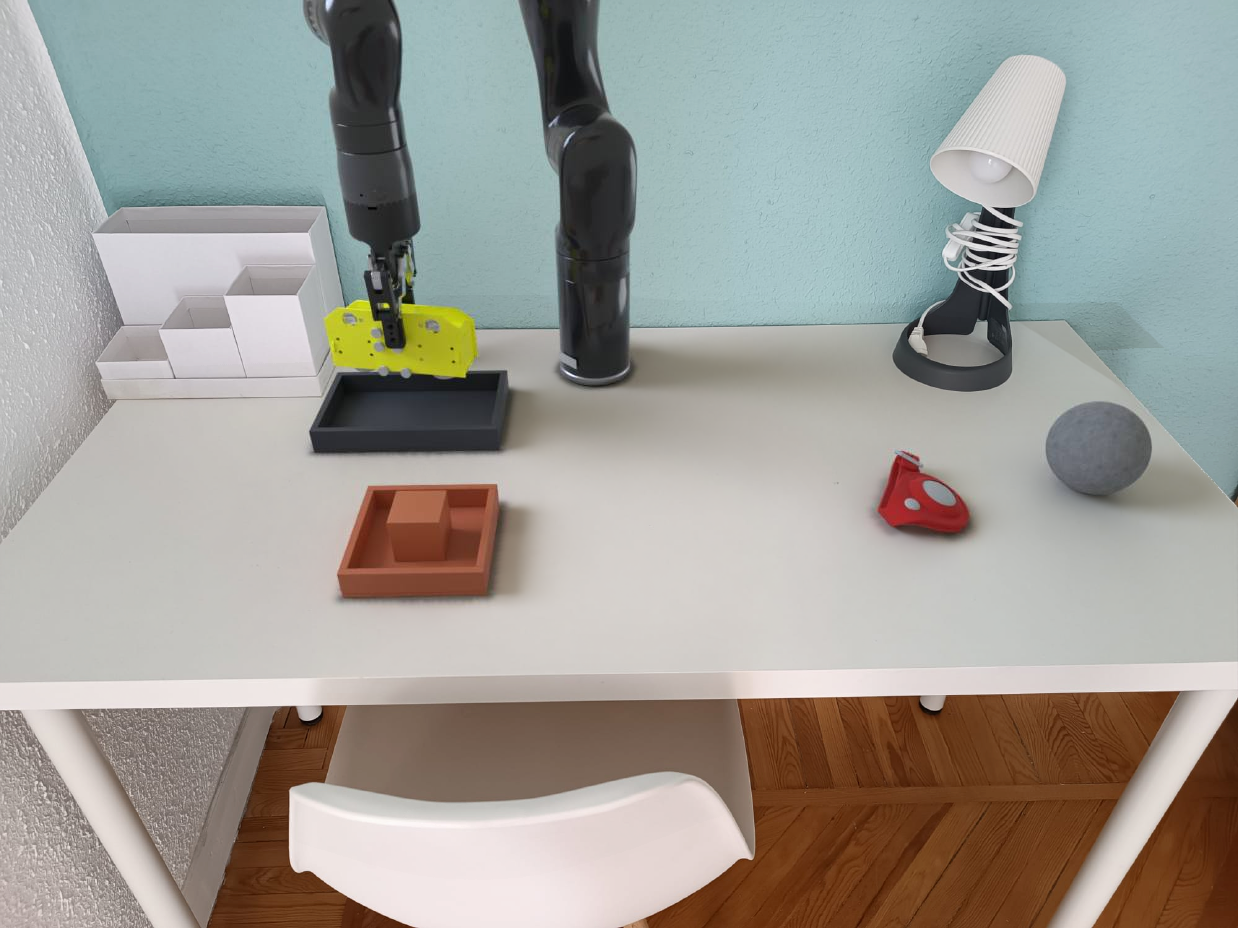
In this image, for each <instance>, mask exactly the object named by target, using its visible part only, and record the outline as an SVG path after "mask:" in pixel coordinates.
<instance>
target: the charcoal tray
mask: <svg viewBox="0 0 1238 928" xmlns="http://www.w3.org/2000/svg"><path fill="white" fill-rule="evenodd" d="M509 391H510V388H509V376H508V370H507V369H495V370H494V369H492V370H491V369H490V370H489V369H488V370H486V369H485V370H484V369H483V370H482V369H481V370H479V369H478V370H468V371H467V372H466V377H465V378H463V377H453V378H450V379H438V378H436V377H434V376H433V375H430V374H419V373H411V375H410V377H409V378H404V377H403V376H402V375H401V372H397V371H396V372H390V371H389V373H388V374H387V375H386V376H382V375H380V374H379V372H378V371H369V372H360V371H338V372H336V375H335V377H334V379H333V381H332V382H331V385H330V387H329V389H328V391H327V393H326V396H325V397H324V399H323V402H322V404H321V405H320V408H319V410H318V412H317V414H316V416H315V418H314V420H313V422H312V424H311V427H310V428H309V430H308V433H309V437H310V438H309V439H310V441H311V445H312V449H313V453H316V454H317V453H322V454H323V453H379V452H380V453H384V452H386V453H387V452H389V453H391V452H393V453H394V452H456V451H457V452H458V451H459V452H460V451H461V452H463V451H468V452H469V451H471V452H473V451H500V447H501V442H502V436H503V435H502V434H503V429H504V423H505V417H506V411H507V405H508V398H509Z"/></svg>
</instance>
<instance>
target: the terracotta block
mask: <svg viewBox="0 0 1238 928" xmlns="http://www.w3.org/2000/svg"><path fill="white" fill-rule="evenodd" d="M387 527H388V532H389V537H390V542H391V547H392V551H393V556H394V561H395V562H408V561H445V560H446V555H447V550H448V546H449V541H450V537H451V532H452V523H451V517H450V510H449V504H448V497H447V491H446V490H434V491H396V494H395V498H394V501H393V504H392V507H391V510H390V514H389V517H388V520H387Z"/></svg>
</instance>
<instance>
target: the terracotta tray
mask: <svg viewBox="0 0 1238 928" xmlns="http://www.w3.org/2000/svg"><path fill="white" fill-rule="evenodd" d="M434 490H446V491H447V497H448V504H449V510H450V517H451V523H452V532H451V537H450V541H449V546H448V550H447V555H446V560H445V561H408V562H395V561H394V556H393V551H392V547H391V542H390V537H389V532H388V527H387V520H388V517H389V514H390V510H391V507H392V504H393V501H394V498H395V494H396V491H434ZM500 505H501V504H500V497H499V489H498V484H497V483H473V484H471V483H469V484H467V483H466V484H465V483H463V484H400V485H399V484H396V485H395V484H393V485H386V484H385V485H367V488H366V491H365V494H364V496H363V499H362V502H361V504H360V506H359V507H360V508H359V511H358V513H357V516H356V519H355V522H354V525H353V527H352V531H351V533H350V535H349V539H348V542H347V545H346V547H345V549H344V553H343V556H342V559H341V562H340V564H339V567H338V570H337V573H336V578H337V581H338V584H339V588H340V589H339V590H340V592H341V596H342V598H394V597H395V598H396V597H399V598H402V597H453V596H454V597H459V596H460V597H461V596H462V597H464V596H465V597H467V596H487V593H488V587H489V582H490V581H489V580H490V574H491V566H492V560H493V553H494V546H495V541H496V533H497V527H498V526H497V525H498V519H499V513H500Z"/></svg>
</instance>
